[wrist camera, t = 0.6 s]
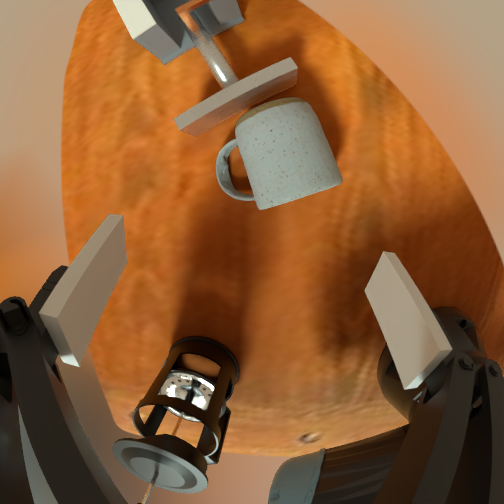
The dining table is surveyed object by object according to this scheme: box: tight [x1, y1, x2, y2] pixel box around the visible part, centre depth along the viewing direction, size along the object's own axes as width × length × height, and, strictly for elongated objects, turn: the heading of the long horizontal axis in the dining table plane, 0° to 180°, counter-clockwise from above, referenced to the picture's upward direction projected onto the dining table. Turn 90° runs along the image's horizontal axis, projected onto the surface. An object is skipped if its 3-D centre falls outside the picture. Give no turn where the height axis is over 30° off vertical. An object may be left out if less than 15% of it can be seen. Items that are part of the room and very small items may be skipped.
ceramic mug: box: [216, 97, 343, 210], centre depth 23 cm, size 11×8×8 cm
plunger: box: [174, 0, 298, 137], centre depth 20 cm, size 12×11×7 cm
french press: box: [112, 336, 239, 504], centre depth 23 cm, size 12×9×23 cm
